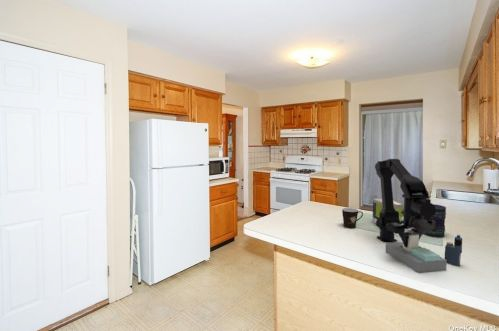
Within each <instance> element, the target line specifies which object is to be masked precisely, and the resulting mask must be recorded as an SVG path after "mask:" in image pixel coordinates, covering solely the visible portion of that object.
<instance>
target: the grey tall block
mask: <svg viewBox="0 0 499 331" xmlns="http://www.w3.org/2000/svg"><path fill="white" fill-rule="evenodd" d="M408 232H409V233H411V234H410V235H409V236H408V246H407V247H405V246H404V244H403V247H402V248H403V249H405V250H406V251H408V252H410V253H411V249H414V248H418V247H419V246H420V245H419V244H420V243H419V241H420V239H419V233H417V232H414V231H412V230H411V229H408Z"/></svg>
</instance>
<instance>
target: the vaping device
mask: <svg viewBox="0 0 499 331" xmlns="http://www.w3.org/2000/svg"><path fill="white" fill-rule="evenodd" d="M462 252H463V238H462V237H461V235H460V234H457V235H456V236H455V237H454V243H453V242H450V241H447V242H446V244H445V246H444V259H446V260H447V264H449V265H453V266H456V267H461V256H462V255H461V254H462Z"/></svg>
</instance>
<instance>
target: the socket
mask: <svg viewBox="0 0 499 331" xmlns="http://www.w3.org/2000/svg"><path fill="white" fill-rule="evenodd" d="M402 247H403V242H402V241H400V242H385V253H386V254H388V255H389V256H391V257H392V258H394V259H396V260H397V261H399V262H400V263H402V264H403V265H405V266H406V267H407V268H410V269H411V270H413V271H415V272H416V273H417V274H421V273H430V272H441V270H442V271H447V264H448V263H447V260H446V259H445V257H442V256H440V260H438V261H427V262H425V261H423V260H422V259H420V258H418V257H416V256H414V255H413V254H411V253H410V252H408V251H406V250H405V249H403V248H402ZM418 248H423V247H422V246H420V245H419V247H418Z"/></svg>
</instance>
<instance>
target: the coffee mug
mask: <svg viewBox="0 0 499 331" xmlns="http://www.w3.org/2000/svg"><path fill="white" fill-rule="evenodd" d="M341 212H342V221H343V223H342V224H343V227H344V228H346V229H353V230H354V229H356V227H357V222H358V221H359V220H360V219H362V218H363V216H364V212H362V210H358V209H357V208H354V207H353V208H352V207H343V208H341ZM359 213H361V216H360V217H359V218H358V214H359Z"/></svg>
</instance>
